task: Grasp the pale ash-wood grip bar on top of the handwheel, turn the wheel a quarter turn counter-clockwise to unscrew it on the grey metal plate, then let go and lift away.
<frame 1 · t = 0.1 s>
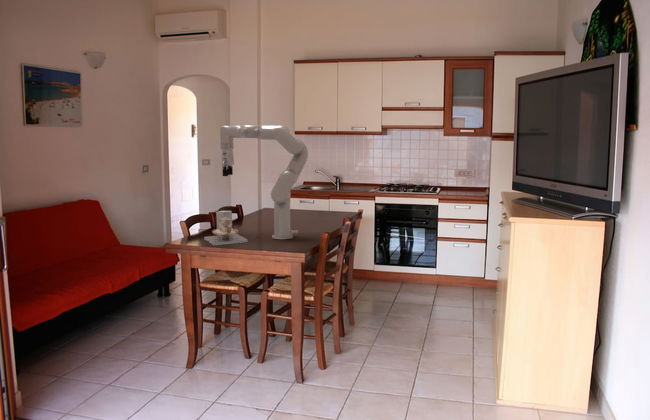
hand: (227, 175, 334), 37 cm above the table, tool pointing down, fingers open, 9 cm apart
skincare box: (224, 235, 345), on the table
eye plate: (225, 240, 327), on the table
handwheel: (225, 228, 326), point 7 cm above the table, hinge at 0.0°
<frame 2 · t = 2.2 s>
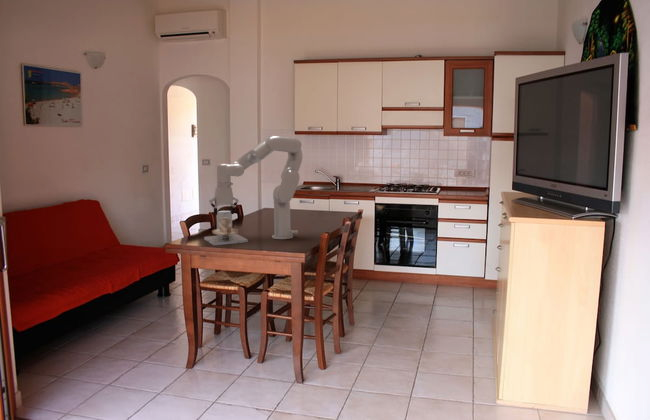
hand: (224, 214, 325), 16 cm above the table, tool pointing down, fingers open, 9 cm apart
nothing on the table moved.
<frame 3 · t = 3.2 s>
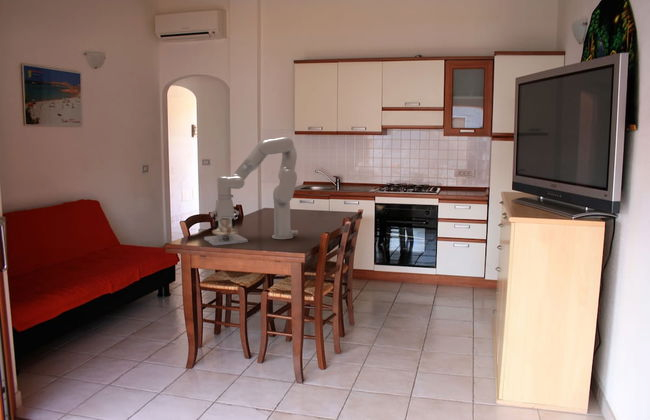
hand: (225, 226, 326), 8 cm above the table, tool pointing down, fingers open, 9 cm apart
nothing on the table moved.
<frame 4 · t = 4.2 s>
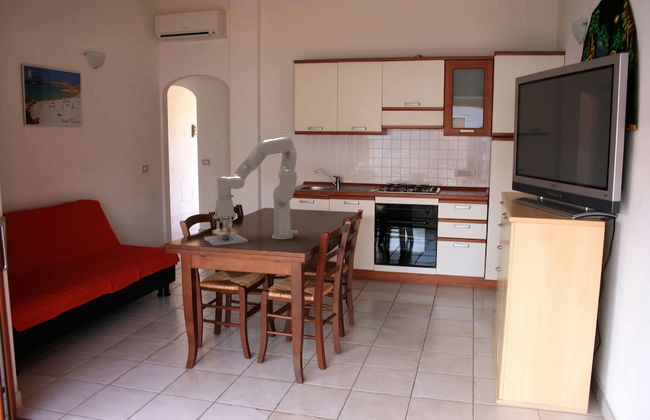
hand: (225, 228, 326), 7 cm above the table, tool pointing down, fingers closed on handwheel, 4 cm apart
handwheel: (225, 228, 326), point 7 cm above the table, hinge at 0.0°, touching gripper
everything else where it was.
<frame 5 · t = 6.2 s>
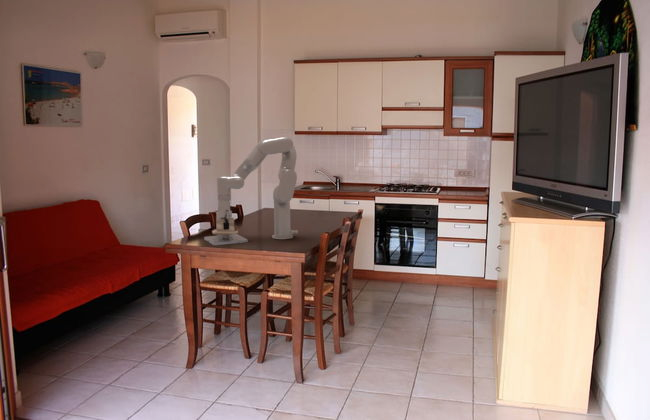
hand: (224, 228, 326), 7 cm above the table, tool pointing down, fingers closed on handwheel, 4 cm apart
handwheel: (225, 228, 326), point 7 cm above the table, hinge at 75.4°, touching gripper
everything else where it was.
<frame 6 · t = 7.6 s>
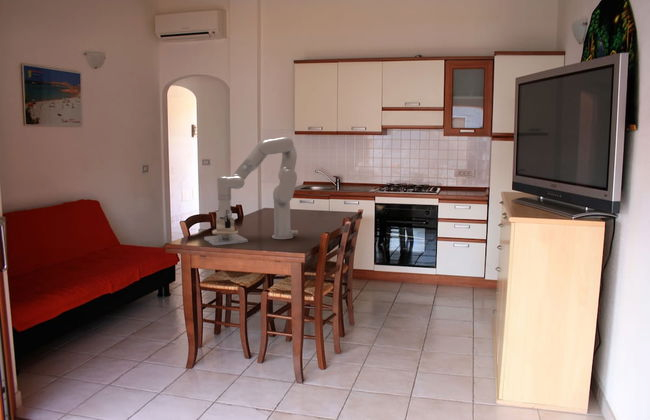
hand: (225, 226, 326), 8 cm above the table, tool pointing down, fingers open, 9 cm apart
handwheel: (225, 228, 326), point 7 cm above the table, hinge at 76.0°
everything else where it was.
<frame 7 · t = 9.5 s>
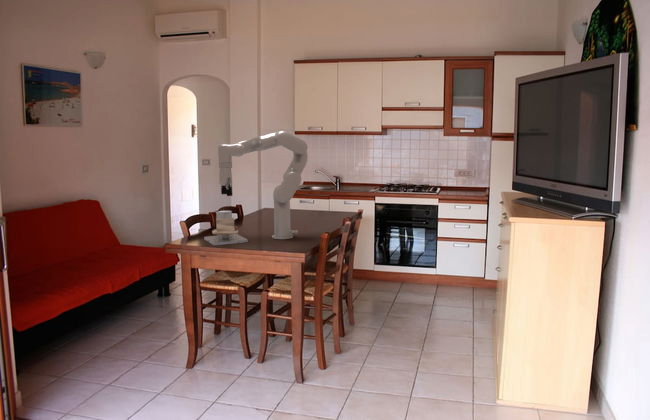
hand: (226, 195, 325), 27 cm above the table, tool pointing down, fingers open, 9 cm apart
nothing on the table moved.
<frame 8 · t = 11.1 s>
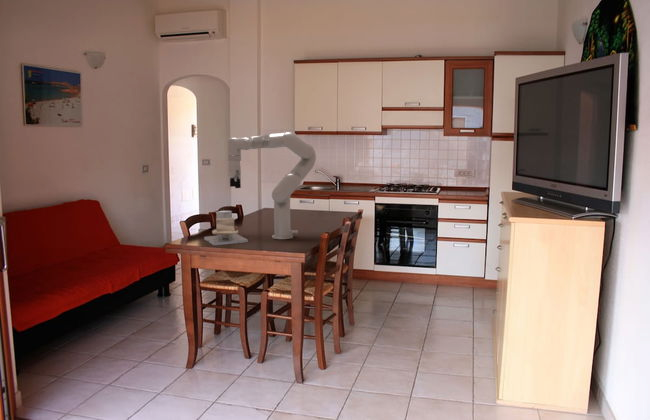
hand: (235, 187, 333), 30 cm above the table, tool pointing down, fingers open, 9 cm apart
nothing on the table moved.
at the end: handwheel at +76° (first picture: +0°); the gripper is holding nothing; skincare box moved 0.2 cm from its start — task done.
